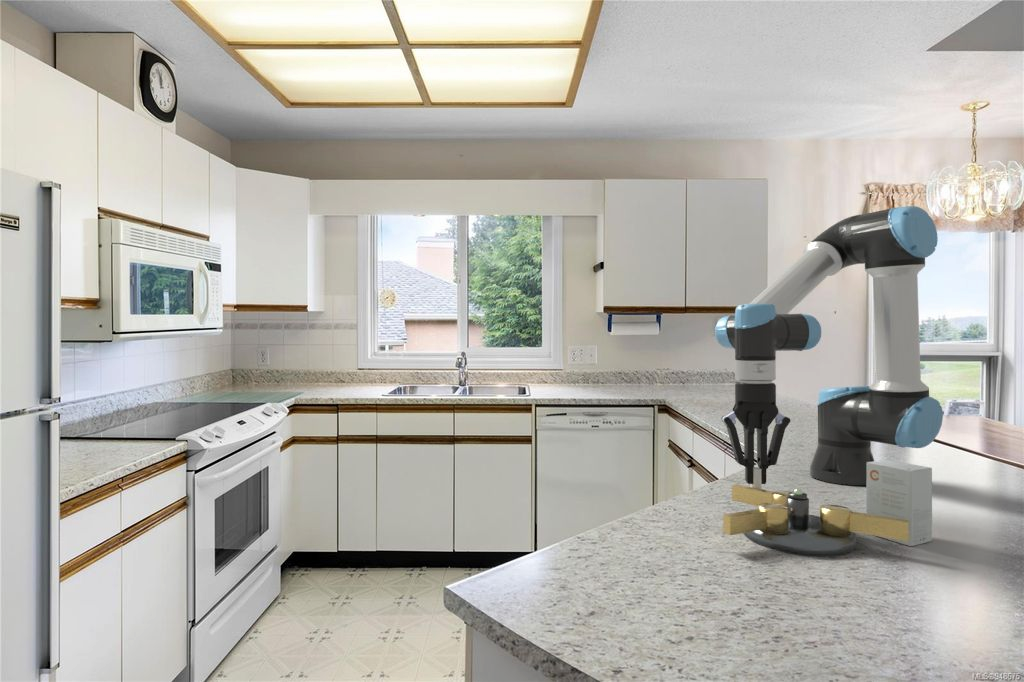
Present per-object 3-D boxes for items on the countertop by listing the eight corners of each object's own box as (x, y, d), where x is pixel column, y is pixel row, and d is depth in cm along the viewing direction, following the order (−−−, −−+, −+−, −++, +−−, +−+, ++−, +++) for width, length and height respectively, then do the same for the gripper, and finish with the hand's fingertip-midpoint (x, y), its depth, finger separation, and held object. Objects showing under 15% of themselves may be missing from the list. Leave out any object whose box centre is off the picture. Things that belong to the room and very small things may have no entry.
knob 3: (817, 532, 103) (817, 507, 103) (822, 525, 107) (822, 501, 107) (907, 548, 96) (908, 521, 96) (909, 540, 100) (909, 514, 100)
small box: (932, 541, 105) (933, 467, 105) (910, 547, 103) (911, 471, 102) (886, 528, 113) (887, 458, 112) (864, 533, 110) (865, 461, 110)
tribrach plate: (731, 520, 117) (732, 475, 117) (828, 523, 115) (829, 477, 115) (760, 554, 99) (761, 501, 99) (876, 558, 98) (876, 504, 97)
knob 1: (804, 515, 113) (804, 493, 113) (792, 520, 110) (792, 497, 110) (740, 500, 123) (740, 480, 123) (727, 505, 120) (727, 483, 120)
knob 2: (771, 523, 108) (771, 500, 108) (794, 531, 104) (794, 507, 104) (716, 533, 103) (716, 508, 103) (737, 542, 98) (737, 516, 98)
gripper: (726, 383, 117) (727, 504, 117) (796, 383, 115) (796, 505, 116) (717, 380, 124) (717, 494, 124) (782, 380, 123) (782, 495, 123)
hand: (755, 499), depth 120 cm, fingers closed
